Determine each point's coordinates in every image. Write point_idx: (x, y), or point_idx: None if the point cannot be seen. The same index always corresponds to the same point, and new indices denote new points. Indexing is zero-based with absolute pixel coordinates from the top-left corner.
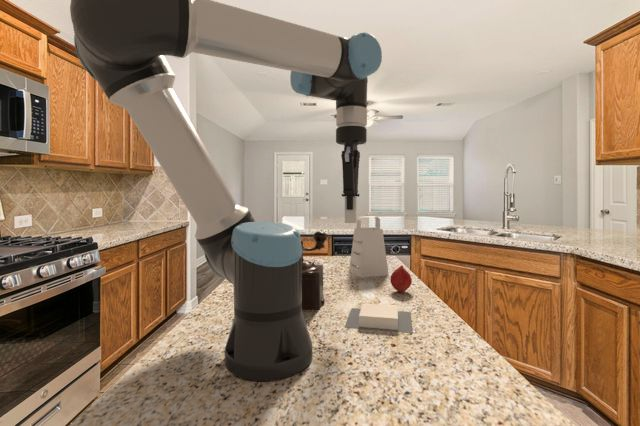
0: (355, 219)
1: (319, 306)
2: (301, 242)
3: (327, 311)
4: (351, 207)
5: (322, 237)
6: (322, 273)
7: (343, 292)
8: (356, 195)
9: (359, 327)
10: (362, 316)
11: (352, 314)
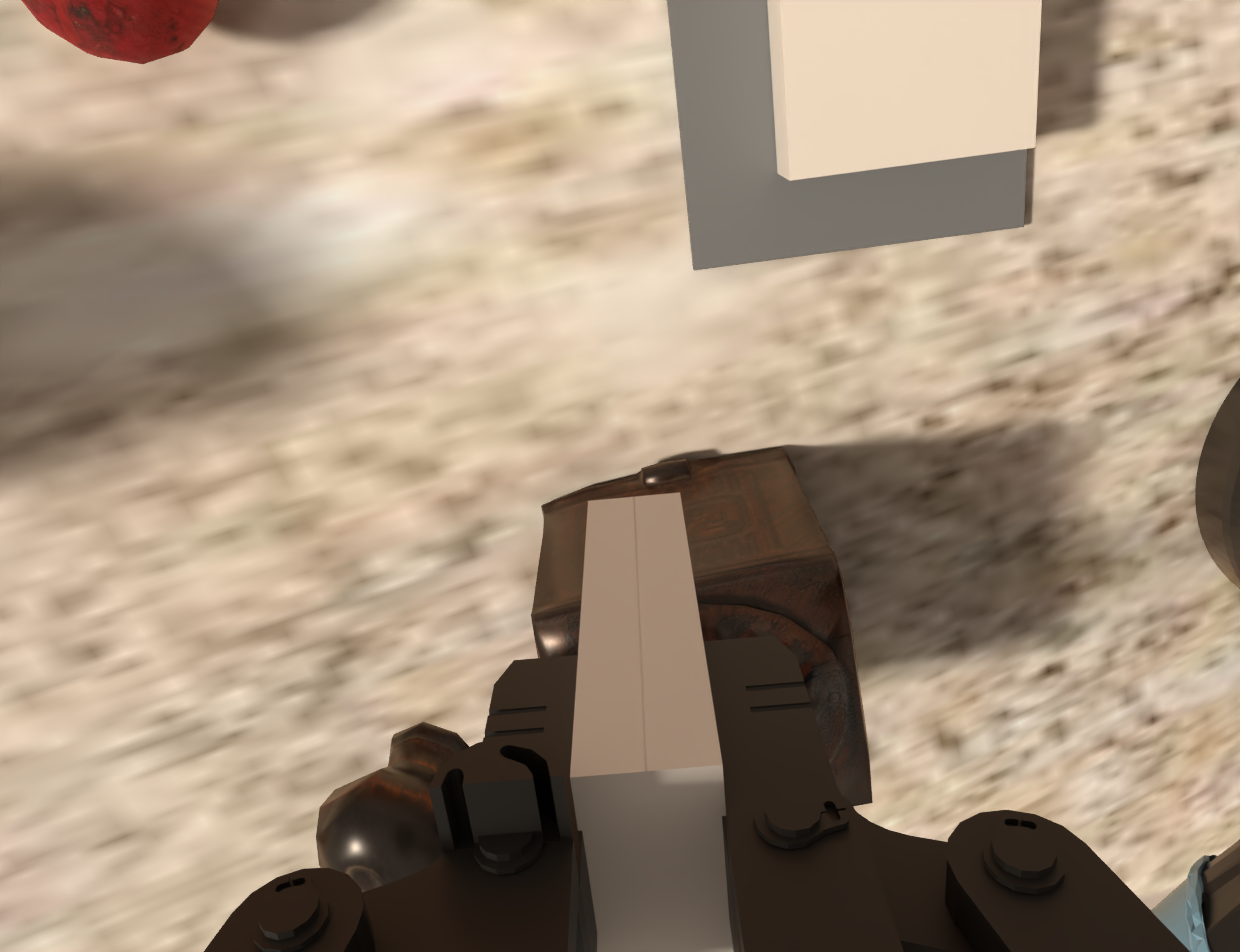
0: (683, 516)
1: (768, 460)
2: None
3: (772, 401)
4: (797, 671)
5: None
6: None
7: (365, 417)
8: (557, 805)
9: None
10: (1035, 123)
11: (810, 234)
